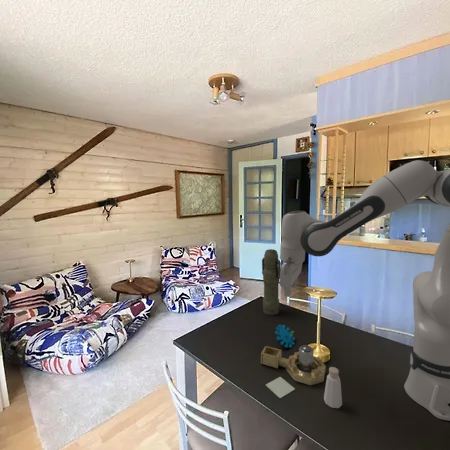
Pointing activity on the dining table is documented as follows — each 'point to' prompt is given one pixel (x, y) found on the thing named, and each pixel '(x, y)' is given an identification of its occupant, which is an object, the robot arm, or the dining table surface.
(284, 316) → the dining table surface
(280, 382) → the pad
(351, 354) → the dining table surface
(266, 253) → the thermos
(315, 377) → the octagonal ring with loop
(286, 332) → the gear
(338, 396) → the salt shaker
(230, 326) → the dining table surface
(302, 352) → the stud
